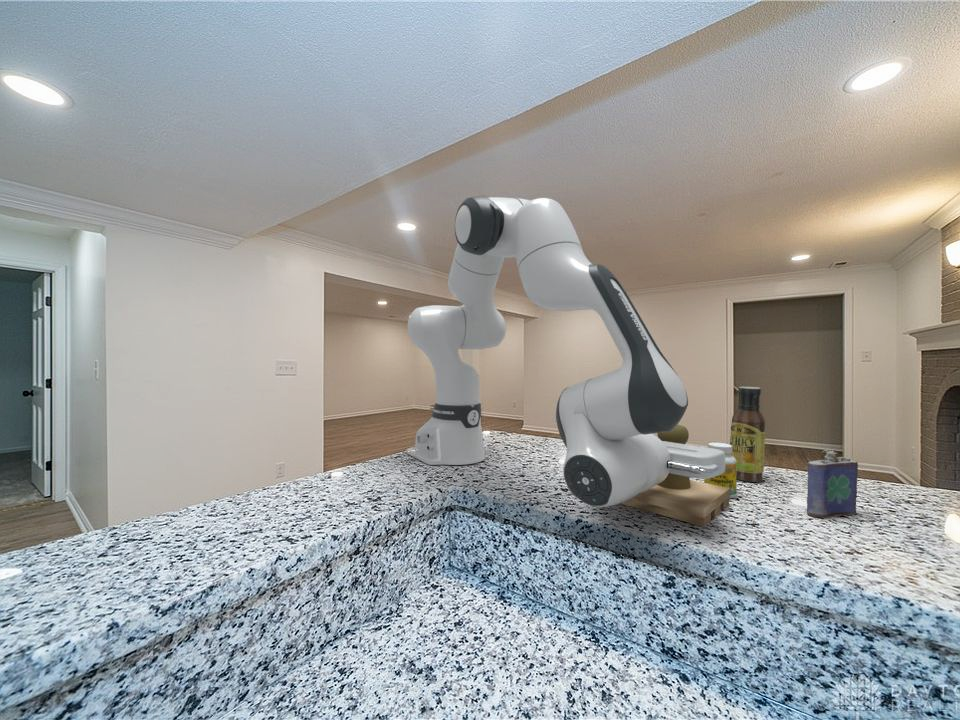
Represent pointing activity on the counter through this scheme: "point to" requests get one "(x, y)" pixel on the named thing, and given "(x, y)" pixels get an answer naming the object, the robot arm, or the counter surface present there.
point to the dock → (684, 502)
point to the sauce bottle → (748, 436)
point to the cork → (681, 437)
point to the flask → (832, 486)
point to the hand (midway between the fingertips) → (672, 446)
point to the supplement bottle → (730, 469)
